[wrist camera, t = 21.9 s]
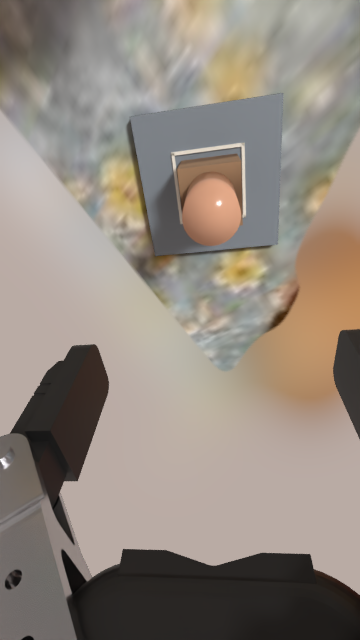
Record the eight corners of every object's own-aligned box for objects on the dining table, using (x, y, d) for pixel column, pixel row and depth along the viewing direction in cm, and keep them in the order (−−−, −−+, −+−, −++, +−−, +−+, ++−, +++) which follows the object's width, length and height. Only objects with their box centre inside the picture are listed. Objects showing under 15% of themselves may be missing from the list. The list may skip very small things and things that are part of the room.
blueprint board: (131, 116, 31) (129, 116, 30) (281, 93, 30) (283, 92, 29) (156, 252, 39) (155, 256, 38) (276, 241, 37) (278, 244, 36)
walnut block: (181, 160, 32) (177, 169, 28) (236, 153, 32) (241, 161, 27) (187, 216, 35) (184, 231, 31) (238, 210, 35) (242, 225, 30)
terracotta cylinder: (183, 174, 28) (178, 190, 23) (234, 168, 28) (240, 183, 23) (189, 224, 31) (185, 248, 26) (236, 219, 30) (241, 243, 25)
